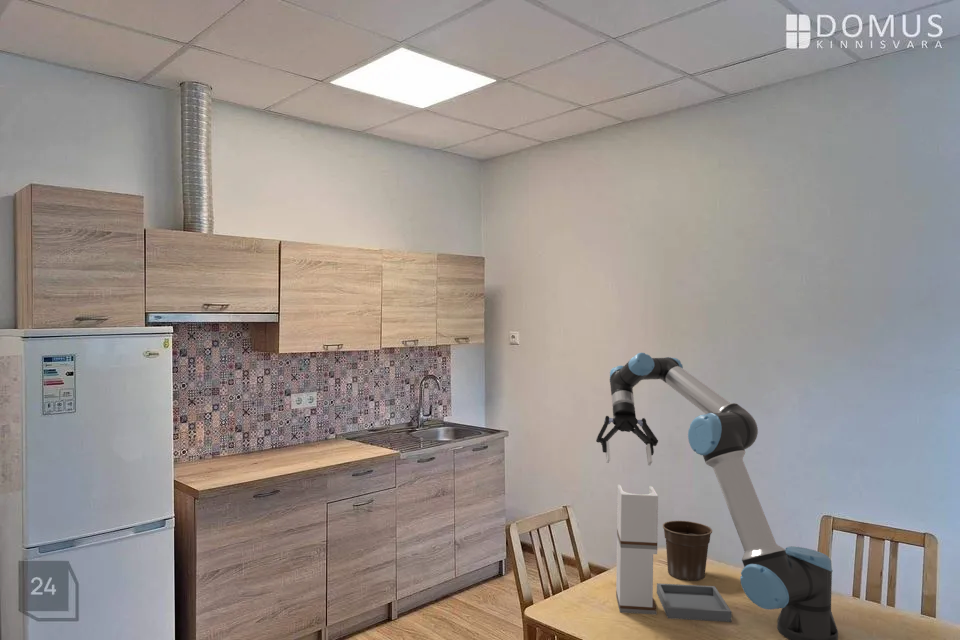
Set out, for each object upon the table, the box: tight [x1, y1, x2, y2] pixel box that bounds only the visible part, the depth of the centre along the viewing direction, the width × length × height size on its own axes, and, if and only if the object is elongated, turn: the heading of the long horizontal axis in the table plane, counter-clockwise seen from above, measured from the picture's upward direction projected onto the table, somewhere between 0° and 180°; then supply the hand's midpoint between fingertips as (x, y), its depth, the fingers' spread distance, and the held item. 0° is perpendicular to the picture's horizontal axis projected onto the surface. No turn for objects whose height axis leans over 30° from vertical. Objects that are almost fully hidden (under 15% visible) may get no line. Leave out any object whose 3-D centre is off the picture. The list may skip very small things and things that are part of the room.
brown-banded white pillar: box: [615, 484, 659, 615], centre depth 198 cm, size 11×11×35 cm
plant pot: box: [662, 520, 713, 582], centre depth 223 cm, size 16×16×16 cm
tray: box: [656, 583, 732, 623], centre depth 198 cm, size 18×18×3 cm
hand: (629, 462), depth 212 cm, fingers open, 13 cm apart
